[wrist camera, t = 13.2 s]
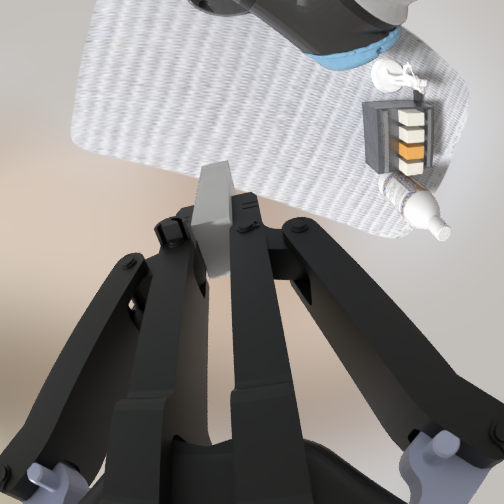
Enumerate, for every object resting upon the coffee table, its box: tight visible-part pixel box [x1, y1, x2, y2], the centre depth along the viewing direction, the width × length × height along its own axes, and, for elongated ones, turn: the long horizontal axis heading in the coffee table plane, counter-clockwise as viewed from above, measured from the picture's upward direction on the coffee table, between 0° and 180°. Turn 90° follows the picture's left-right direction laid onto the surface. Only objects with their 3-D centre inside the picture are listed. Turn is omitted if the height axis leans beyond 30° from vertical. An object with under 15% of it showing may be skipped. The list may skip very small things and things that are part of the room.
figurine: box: [371, 58, 428, 94], centre depth 40 cm, size 7×7×12 cm
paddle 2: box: [399, 126, 424, 143], centre depth 44 cm, size 2×4×3 cm, turn 101°
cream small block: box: [399, 158, 423, 176], centre depth 48 cm, size 2×4×3 cm, turn 101°
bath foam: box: [378, 171, 451, 241], centre depth 50 cm, size 7×7×20 cm
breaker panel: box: [362, 100, 434, 174], centre depth 49 cm, size 12×12×7 cm
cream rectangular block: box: [398, 109, 424, 126], centre depth 43 cm, size 2×4×3 cm, turn 101°
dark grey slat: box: [413, 90, 422, 102], centre depth 51 cm, size 16×1×1 cm, turn 11°
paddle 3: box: [399, 142, 424, 160], centre depth 46 cm, size 2×4×3 cm, turn 101°
